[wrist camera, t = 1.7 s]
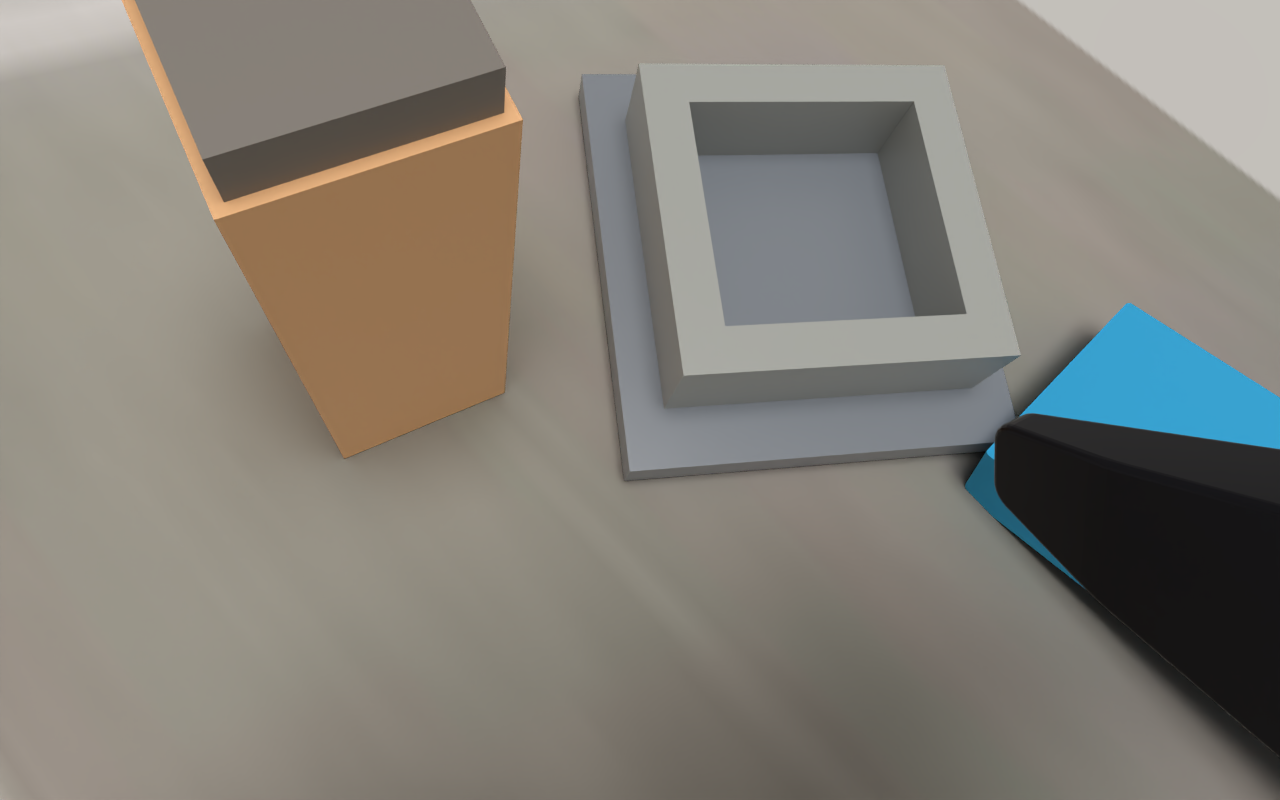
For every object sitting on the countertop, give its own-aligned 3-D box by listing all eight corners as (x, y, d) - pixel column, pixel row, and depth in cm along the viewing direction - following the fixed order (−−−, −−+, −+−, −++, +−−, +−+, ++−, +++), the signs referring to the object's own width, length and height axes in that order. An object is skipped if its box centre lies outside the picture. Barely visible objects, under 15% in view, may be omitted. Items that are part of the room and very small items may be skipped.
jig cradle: (1002, 449, 26) (1076, 412, 23) (624, 480, 24) (646, 444, 21) (913, 95, 30) (966, 19, 27) (578, 96, 28) (591, 13, 24)
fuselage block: (504, 392, 24) (525, 74, 12) (344, 458, 23) (191, 178, 11) (438, 255, 25) (397, -166, 13) (281, 311, 24) (76, -96, 12)
